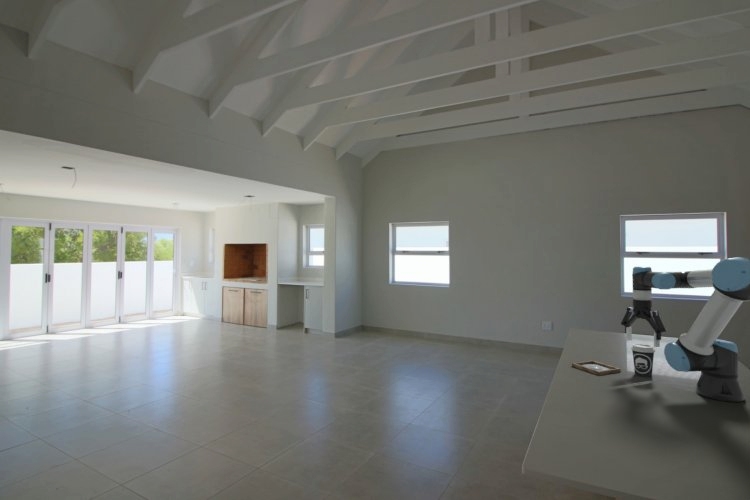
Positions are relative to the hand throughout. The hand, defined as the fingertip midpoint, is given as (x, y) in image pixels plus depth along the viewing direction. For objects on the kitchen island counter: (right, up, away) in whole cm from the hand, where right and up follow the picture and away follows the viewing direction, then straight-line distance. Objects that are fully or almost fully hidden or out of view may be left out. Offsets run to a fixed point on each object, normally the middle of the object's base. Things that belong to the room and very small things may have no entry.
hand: (642, 343), depth 189 cm
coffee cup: (0, -16, 0) cm, 16 cm away
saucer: (-17, -15, +9) cm, 25 cm away
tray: (-17, -16, +9) cm, 25 cm away
